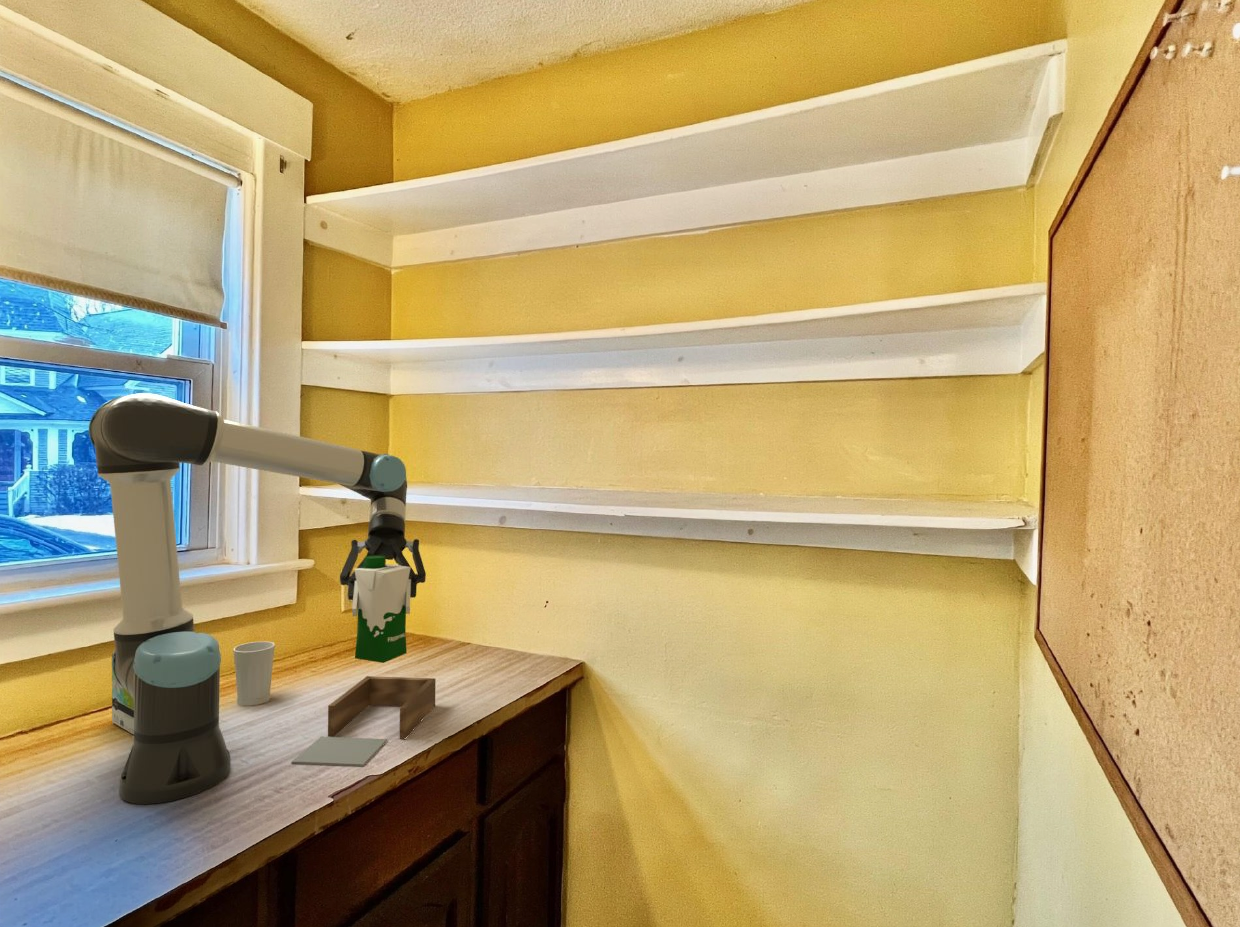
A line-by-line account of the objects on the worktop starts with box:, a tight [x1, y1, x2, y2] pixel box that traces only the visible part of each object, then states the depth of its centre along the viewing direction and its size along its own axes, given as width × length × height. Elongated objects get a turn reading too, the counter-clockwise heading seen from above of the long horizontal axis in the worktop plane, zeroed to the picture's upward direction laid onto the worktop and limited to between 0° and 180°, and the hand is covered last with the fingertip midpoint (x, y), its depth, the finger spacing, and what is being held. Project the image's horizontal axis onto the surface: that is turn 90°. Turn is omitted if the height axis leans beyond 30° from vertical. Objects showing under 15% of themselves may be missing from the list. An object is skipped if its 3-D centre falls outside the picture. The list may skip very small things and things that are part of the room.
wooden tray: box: [327, 675, 436, 740], centre depth 130 cm, size 15×17×6 cm
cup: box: [232, 640, 276, 707], centre depth 139 cm, size 8×8×12 cm
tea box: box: [111, 651, 134, 735], centre depth 126 cm, size 15×10×15 cm
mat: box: [290, 736, 388, 767], centre depth 116 cm, size 13×10×1 cm
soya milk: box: [354, 555, 412, 664], centre depth 127 cm, size 9×9×20 cm
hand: (381, 611), depth 124 cm, fingers closed on soya milk, 9 cm apart
